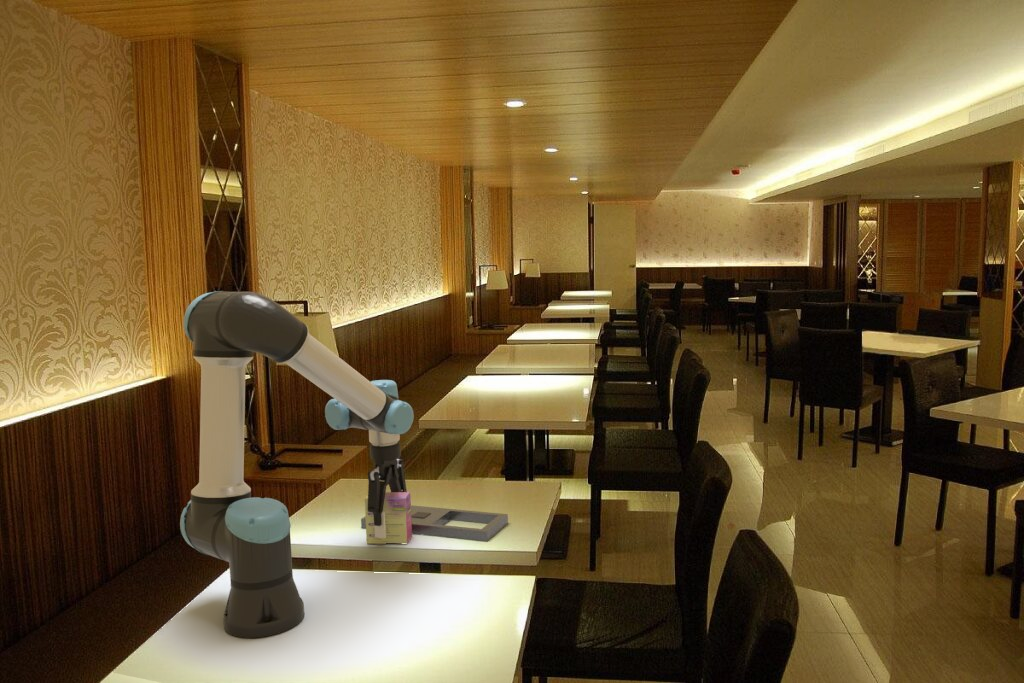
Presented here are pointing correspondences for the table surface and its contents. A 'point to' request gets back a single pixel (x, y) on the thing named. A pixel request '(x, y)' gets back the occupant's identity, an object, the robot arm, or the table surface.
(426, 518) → the plate with rectangular opening
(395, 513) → the box
